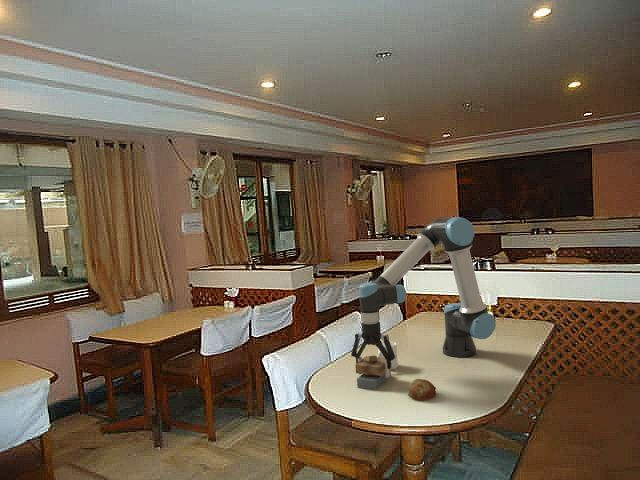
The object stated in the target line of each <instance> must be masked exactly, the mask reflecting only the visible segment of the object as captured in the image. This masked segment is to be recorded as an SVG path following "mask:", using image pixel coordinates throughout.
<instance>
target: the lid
mask: <svg viewBox="0 0 640 480" xmlns="http://www.w3.org/2000/svg"><path fill="white" fill-rule="evenodd" d="M385 361H386V359H385V358H382V357H378V355H370V356H368V355H365V356H364V357H362V360H361V361H359V362H358V363H357V364H356V363H355V366H354V367H355V374H358V375H360V374H361V375H362V374H367V375H376V376H382V375H383V374H384V373H385Z"/></svg>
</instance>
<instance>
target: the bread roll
mask: <svg viewBox="0 0 640 480" xmlns="http://www.w3.org/2000/svg"><path fill="white" fill-rule="evenodd" d="M436 389H437V388H436V386H435V385H434V384H433V383H432V382H431V381H429V380H426V379H421V378H416V379H414V380H413V381H411V383H410V384H409V385H408V394H407V396H408V397H409V398H410V399H412V400H414V401H419V402H422V401H423V402H425V401H429V400H432V399H434V398H435V397H436V395H437V392H436V391H437V390H436Z"/></svg>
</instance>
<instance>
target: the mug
mask: <svg viewBox="0 0 640 480" xmlns="http://www.w3.org/2000/svg"><path fill="white" fill-rule="evenodd" d="M381 342H382V345H383V346H384V348H385V349H386V346H385V344H384V341H381ZM389 342H390V344H391V347H392V349H393V352H394V354H395V359H394V360H391V368H390V371H391V370H395V369H397V368H398V367H399V363H398V362H399V360H398V345H397V343H396V342H395V341H389ZM378 344H379V343H378ZM386 351H387V349H386ZM387 352H388V351H387ZM377 357H382V358H385V357H384V356H383V354H382V353H381V351H380V350H379V348H378V347H377Z"/></svg>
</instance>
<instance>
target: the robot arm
mask: <svg viewBox="0 0 640 480" xmlns="http://www.w3.org/2000/svg"><path fill="white" fill-rule="evenodd" d="M475 234H476V233H475V228H474V225H473V224H472V223H471V221H469V220H468V219H466V218H464V217H459V216H452V217H448V216H447V217H438V218H436V219H434V220H432V221H431V222H429V223H428V224H427V225H426V226H425V227H424V228H423V229H422V230H420V231H419V232H418V233H417V234H416V237H417V238H416V239H414V240H413V242H412V243H411V244H409V246H408V247H407V248H406V249H405V250H404V251H403V252H402V253H401V254H400V255H399V256H398V257H397V258H396V259H395V260H394V261H393V262H392V263H391V264H390V265H389V266H388V267H387V268H386V269H385V270H384V271H383V272H382V273H381V274H380V275H379V276H378V277H377V278H376V279H375V280H370V281H369V282H365V283H361V284H360V285H359V289H358V290H359V291H358V294H359V295H358V297H359V306H360V321H361V333H360V332H357V333H355V335H354V339H355V340H354V343H353V347H352V349H351V353H350V356H351V357H353V358H355V365H356V364H357V363H358V362H359V361H361V360H362V359H363V357H362V356H361V355H362V353H363V352H364V350H366V347H367V346H368V345H369V346H370V345H372V346H375V347H377V349H378V348H379V350H380V351H381V353H382V354H383V356H384V357H385V359H386V361H385V375H386V378H388V377H389V376H390V373H391V370H389V369H390V368H391V360H394V359H395V354H394V352H393V349H392V347H391V344H390V342H391V341H390V337H389V334H382V333H381V322H380V321H381V318H380V317H381V316H380V306H389V305H396V304H397V305H398V304H401V303H405V301H406V300H407V291H406V288H405V286H404V285H402V284H398V283H399V282H400V281H401V279H403V277H405V276H406V275H407V274H408V273H409V272H410V271H411V270H412V268H413V267H415V266H416V264H418V263H419V261H420V260H421V259H423V257H424V256H425V255H427V253H428V252H429V251H434V249H435V248H436V247H438V246H440V245H443V250H444V253H447V254H448V255H449V258H450V262H451V267H452V270H453V276H454V279H455V283H456V289H457V291H458V295H459V300H460V302H455V303H449V304H446V305H445V306H444V310H443V311H444V312H443V314H444V327H445V328H444V329H445V338H444V342H443V343H442V353H443V354H444V355H445V356H448V357H454V358H467V357H473V356H475V355H476V354H477V345H476V343H475V342H474V339H478V340H486V339H488V338H490V337H491V336H492V335H493V333H494V332H495V330H496V325H497V323H496V318H495V317H494V315H492V314H491V313H490V312H489V311H488V307H487V304H486V303H485V302H482V296H481V293H480V288H479V285H478V280H477V276H476V272H475V268H474V264H473V259H472V255H471V250H470V249H471V248H472V247H473V243H472V242H473V240H474V237H475ZM361 339H362V340H363V342H362V344H361V346H360V348H359V344H360V340H361ZM381 339H382V341H381ZM382 342H384V344H385V346H386V349H387V351H388V352H387V351H386V349H385V348H384V346H383V345H382ZM378 343H379V344H378ZM358 348H359V349H358ZM359 375H360V376H361V375H362V374H359ZM390 377H391V376H390ZM390 377H389V378H390ZM389 378H388V379H389Z"/></svg>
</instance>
